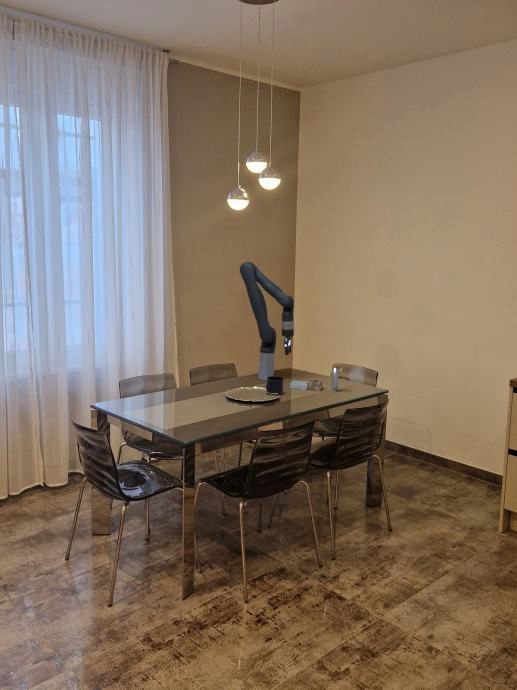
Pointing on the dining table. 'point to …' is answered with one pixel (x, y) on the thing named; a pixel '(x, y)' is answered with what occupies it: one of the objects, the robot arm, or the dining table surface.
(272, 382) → the mug
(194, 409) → the dining table surface
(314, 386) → the block
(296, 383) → the tray
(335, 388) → the cylinder
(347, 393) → the dining table surface
